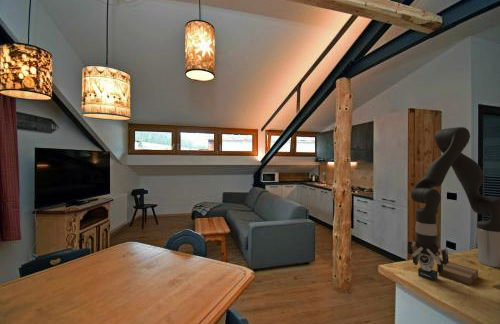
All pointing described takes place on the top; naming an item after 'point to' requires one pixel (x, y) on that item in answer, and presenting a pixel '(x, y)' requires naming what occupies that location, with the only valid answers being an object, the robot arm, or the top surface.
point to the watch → (427, 267)
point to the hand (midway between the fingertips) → (427, 268)
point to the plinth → (459, 273)
